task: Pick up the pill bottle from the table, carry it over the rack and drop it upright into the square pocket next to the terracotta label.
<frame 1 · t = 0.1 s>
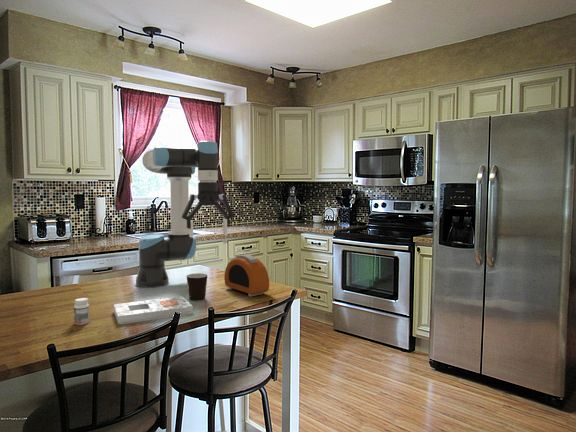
hand: (208, 236, 165), 28 cm above the kitchen island, tool pointing down, fingers open, 13 cm apart
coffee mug: (198, 298, 180), on the kitchen island
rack: (153, 313, 159), on the kitchen island
pill bottle: (82, 323, 148), on the kitchen island
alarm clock: (246, 292, 191), on the kitchen island
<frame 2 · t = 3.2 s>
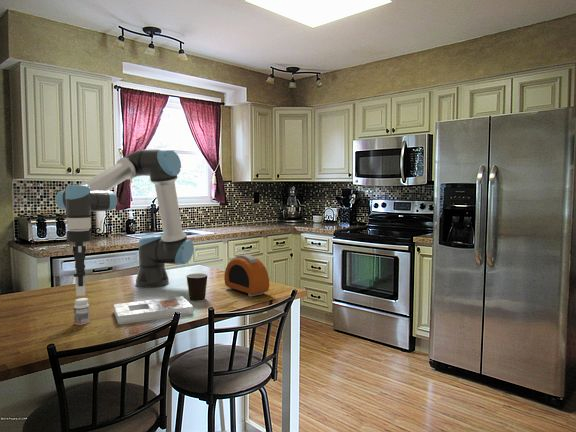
hand: (80, 291, 146), 11 cm above the kitchen island, tool pointing down, fingers open, 13 cm apart
nothing on the kitchen island moved.
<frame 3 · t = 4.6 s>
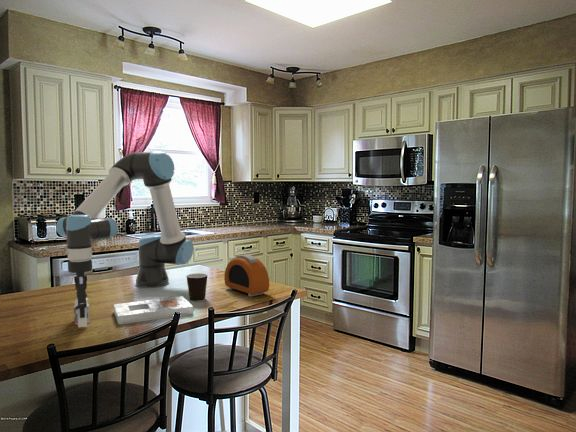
hand: (82, 321, 147), 1 cm above the kitchen island, tool pointing down, fingers open, 12 cm apart
nothing on the kitchen island moved.
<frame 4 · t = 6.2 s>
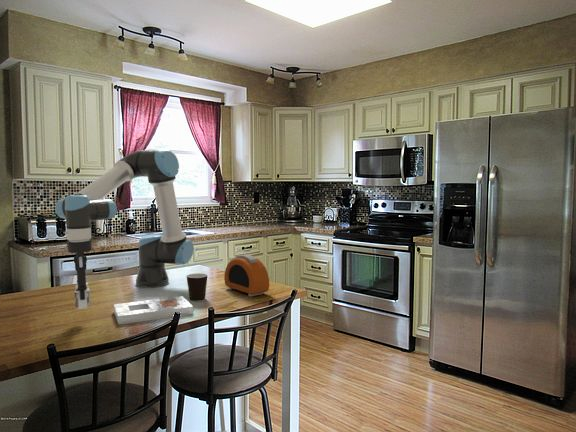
hand: (82, 306, 148), 6 cm above the kitchen island, tool pointing down, fingers closed on pill bottle, 5 cm apart
pill bottle: (83, 307, 148), point 5 cm above the kitchen island, touching gripper
everything else where it was.
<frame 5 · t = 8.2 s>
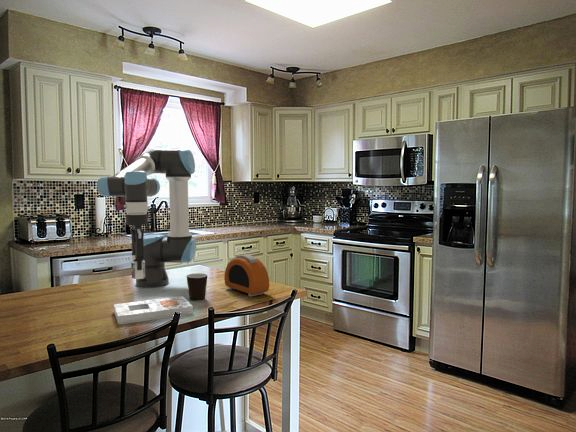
hand: (138, 277, 155), 14 cm above the kitchen island, tool pointing down, fingers closed on pill bottle, 5 cm apart
pill bottle: (138, 278, 155), point 14 cm above the kitchen island, touching gripper
everything else where it was.
when the fingers open (4 cm above the kitchen island, at t = 10.7 s): pill bottle drops 3 cm, resting in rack.
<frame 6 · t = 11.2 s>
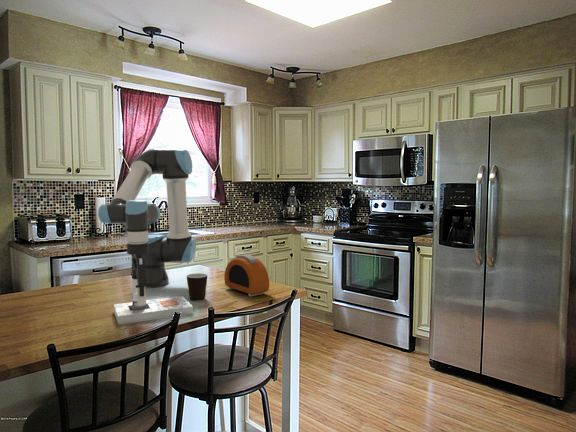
hand: (138, 300, 156), 6 cm above the kitchen island, tool pointing down, fingers open, 12 cm apart
pill bottle: (139, 315, 156), resting in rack
everything else where it was.
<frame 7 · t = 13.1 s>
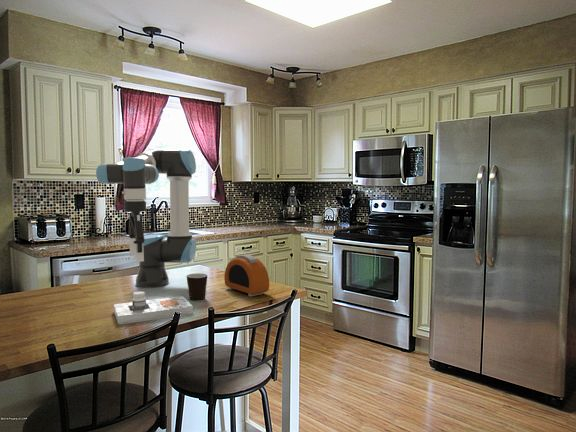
hand: (136, 258, 155), 21 cm above the kitchen island, tool pointing down, fingers open, 13 cm apart
nothing on the kitchen island moved.
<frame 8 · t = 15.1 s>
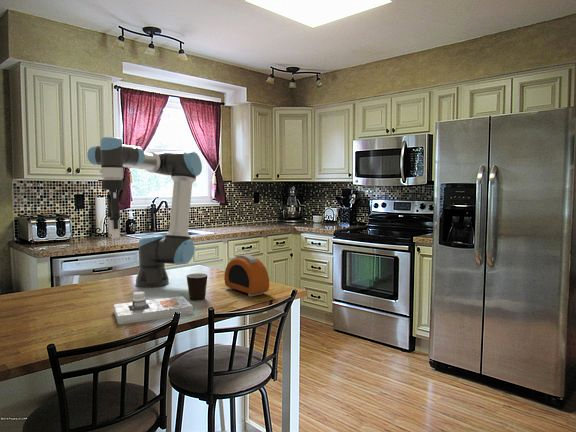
hand: (114, 235, 160), 29 cm above the kitchen island, tool pointing down, fingers open, 13 cm apart
nothing on the kitchen island moved.
at the end: pill bottle 0.1 cm from the target spot on the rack, point 0.0 cm above the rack's base; pill bottle tilted 0°; the gripper is holding nothing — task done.
